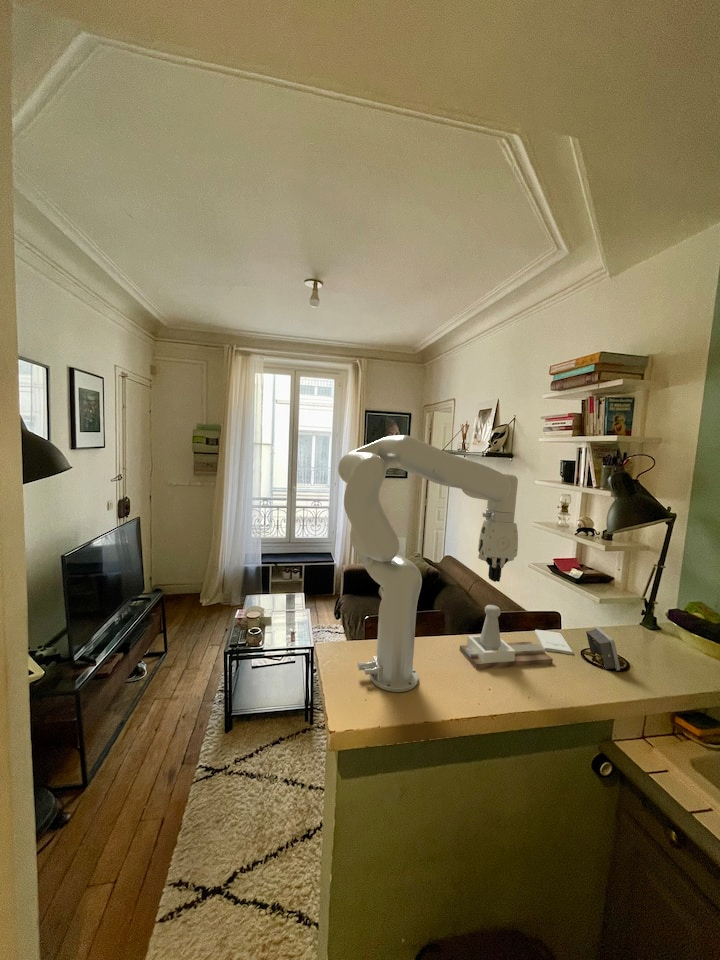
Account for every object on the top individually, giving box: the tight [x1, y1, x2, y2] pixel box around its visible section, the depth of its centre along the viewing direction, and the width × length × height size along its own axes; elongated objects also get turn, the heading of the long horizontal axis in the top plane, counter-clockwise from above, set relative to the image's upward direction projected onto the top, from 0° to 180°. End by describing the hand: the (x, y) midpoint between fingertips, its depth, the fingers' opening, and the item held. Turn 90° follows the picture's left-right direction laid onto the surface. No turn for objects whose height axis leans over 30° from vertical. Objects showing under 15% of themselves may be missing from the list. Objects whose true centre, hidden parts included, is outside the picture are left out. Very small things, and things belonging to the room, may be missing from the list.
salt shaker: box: [480, 604, 502, 651], centre depth 108 cm, size 6×6×13 cm
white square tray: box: [466, 634, 515, 663], centre depth 109 cm, size 10×10×3 cm
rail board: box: [459, 641, 553, 670], centre depth 110 cm, size 24×10×2 cm, turn 101°
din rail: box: [465, 643, 546, 658], centre depth 110 cm, size 24×4×1 cm, turn 101°
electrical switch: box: [585, 625, 621, 672], centre depth 109 cm, size 9×5×9 cm, turn 174°
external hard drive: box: [534, 629, 574, 655], centre depth 120 cm, size 2×8×12 cm
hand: (494, 580), depth 107 cm, fingers closed
